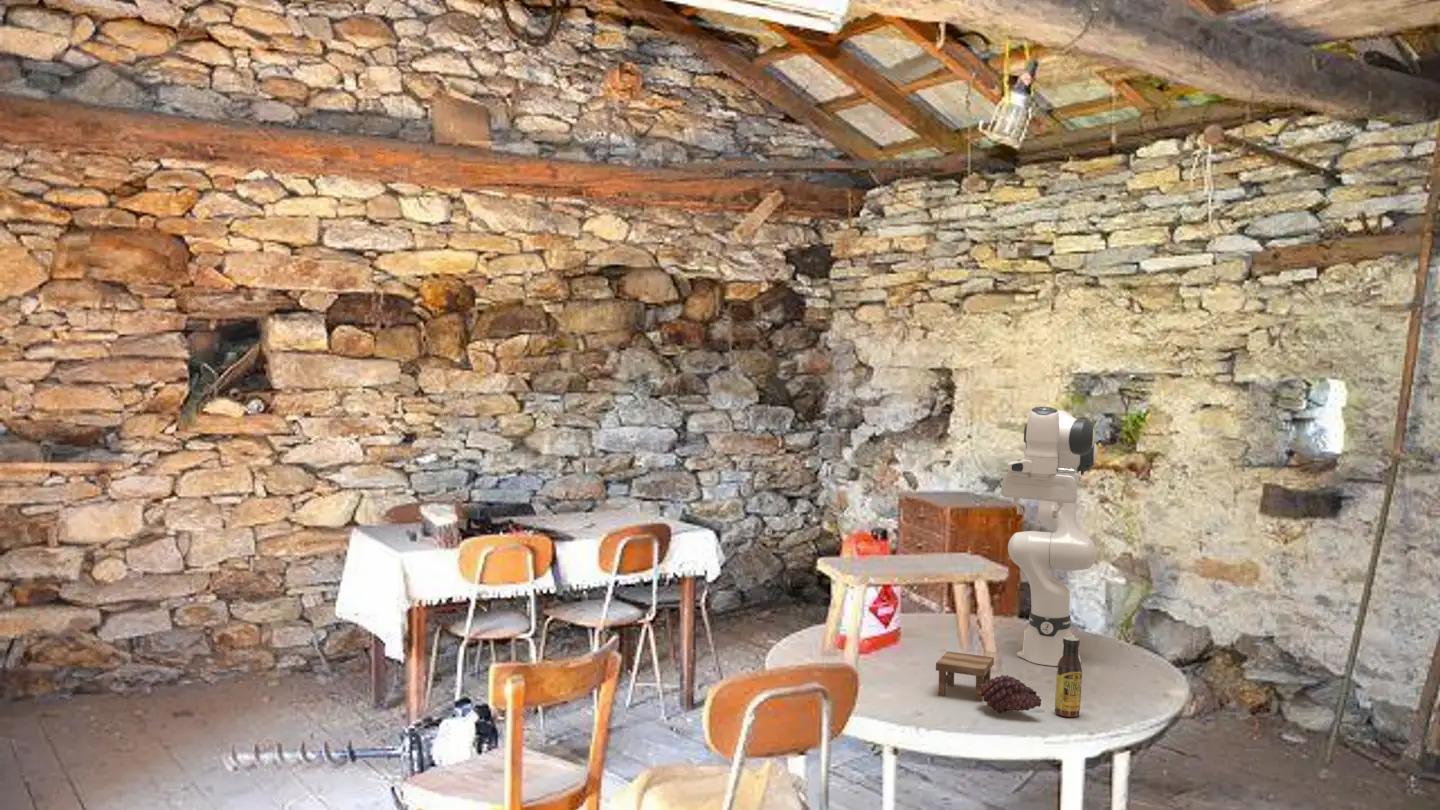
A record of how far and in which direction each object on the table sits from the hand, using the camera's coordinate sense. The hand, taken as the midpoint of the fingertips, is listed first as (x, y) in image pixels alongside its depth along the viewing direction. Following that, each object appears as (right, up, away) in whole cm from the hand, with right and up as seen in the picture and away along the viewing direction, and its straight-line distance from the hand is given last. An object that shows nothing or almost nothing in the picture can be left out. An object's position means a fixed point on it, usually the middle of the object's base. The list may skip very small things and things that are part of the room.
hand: (1037, 516), depth 303 cm
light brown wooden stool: (-21, -48, -2) cm, 52 cm away
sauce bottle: (+2, -50, -19) cm, 53 cm away
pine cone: (-13, -49, -19) cm, 55 cm away
